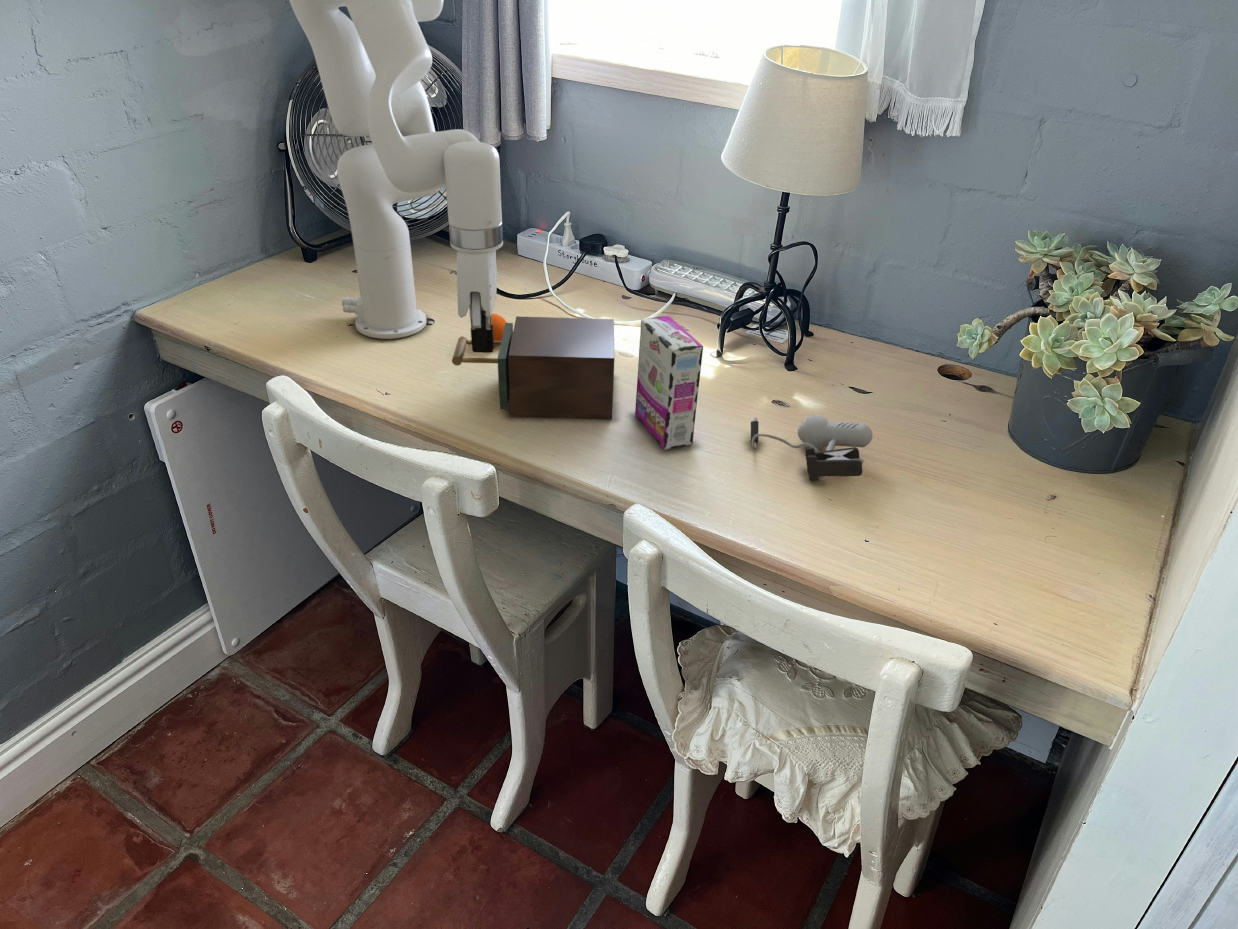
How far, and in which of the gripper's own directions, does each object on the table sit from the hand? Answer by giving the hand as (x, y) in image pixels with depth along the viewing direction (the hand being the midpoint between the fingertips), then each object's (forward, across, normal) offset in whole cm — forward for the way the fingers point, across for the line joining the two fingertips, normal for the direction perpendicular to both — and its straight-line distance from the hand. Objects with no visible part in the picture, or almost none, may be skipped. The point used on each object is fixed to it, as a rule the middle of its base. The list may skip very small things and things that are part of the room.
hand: (483, 349), depth 135 cm
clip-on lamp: (+9, +16, +48) cm, 51 cm away
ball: (+5, -18, -1) cm, 19 cm away
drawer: (+7, 0, +6) cm, 10 cm away
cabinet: (+8, 0, +12) cm, 15 cm away
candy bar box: (+8, +9, +28) cm, 31 cm away
